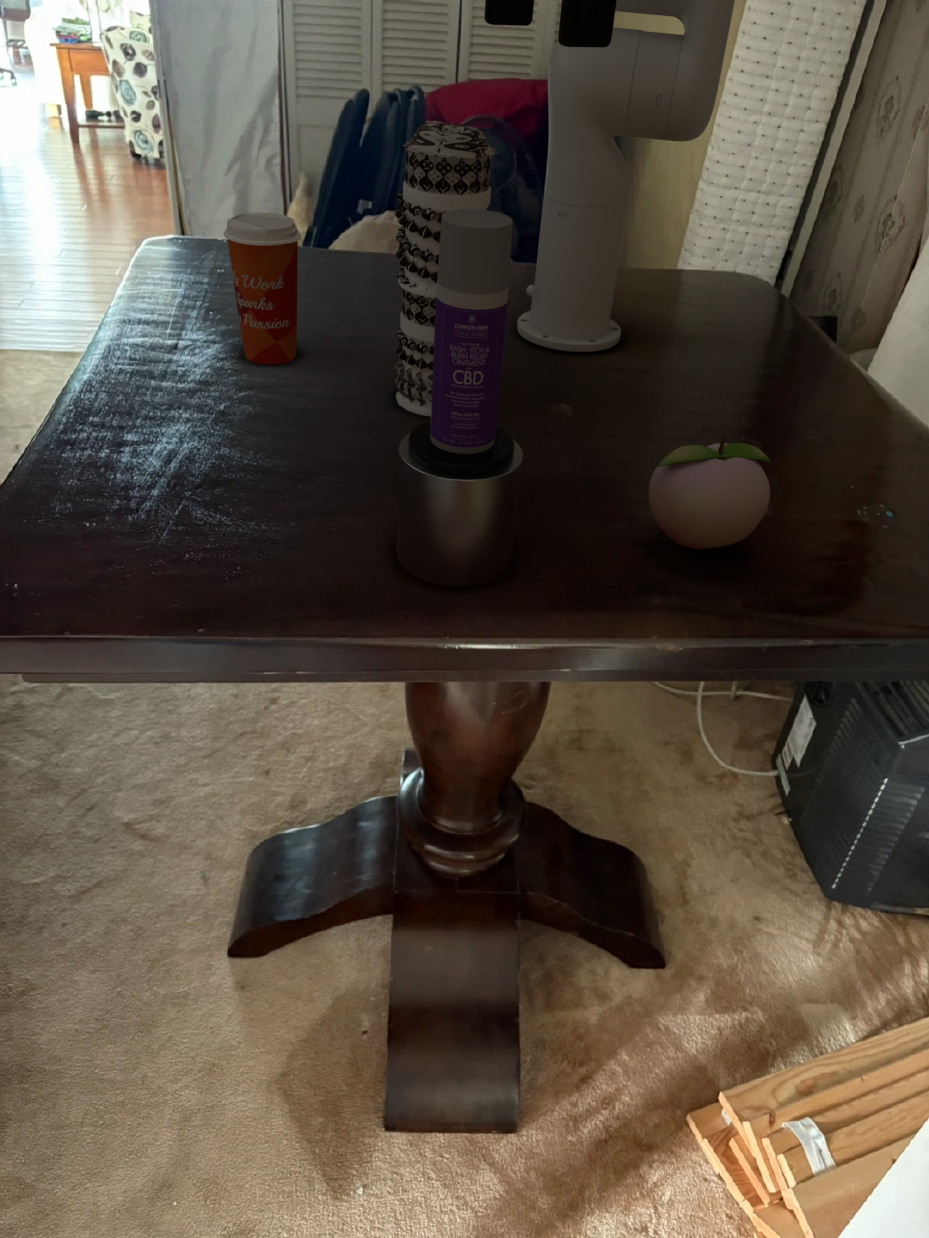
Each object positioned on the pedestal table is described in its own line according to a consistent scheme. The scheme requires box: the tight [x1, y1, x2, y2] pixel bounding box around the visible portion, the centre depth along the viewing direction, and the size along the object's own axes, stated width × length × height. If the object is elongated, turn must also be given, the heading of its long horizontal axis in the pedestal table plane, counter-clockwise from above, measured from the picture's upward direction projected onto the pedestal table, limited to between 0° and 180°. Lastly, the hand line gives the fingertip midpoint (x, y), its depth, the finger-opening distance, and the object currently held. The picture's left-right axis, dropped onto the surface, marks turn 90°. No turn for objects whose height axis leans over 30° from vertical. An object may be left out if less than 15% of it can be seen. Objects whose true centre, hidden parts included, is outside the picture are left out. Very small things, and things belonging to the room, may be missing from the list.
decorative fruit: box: [647, 434, 771, 550], centre depth 71 cm, size 9×8×10 cm
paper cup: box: [223, 211, 302, 366], centre depth 97 cm, size 8×8×14 cm
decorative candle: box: [394, 122, 497, 417], centre depth 87 cm, size 9×9×25 cm
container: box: [430, 209, 514, 454], centre depth 61 cm, size 5×5×15 cm
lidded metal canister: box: [395, 419, 524, 588], centre depth 69 cm, size 9×9×10 cm
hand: (543, 35), depth 56 cm, fingers open, 9 cm apart
